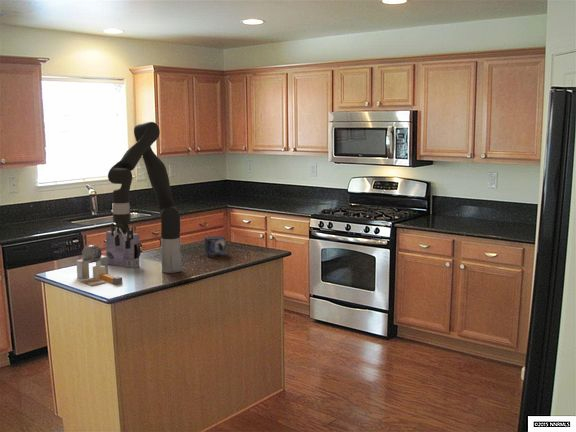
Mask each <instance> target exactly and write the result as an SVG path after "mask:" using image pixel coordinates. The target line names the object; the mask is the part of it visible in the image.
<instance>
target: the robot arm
mask: <svg viewBox="0 0 576 432" xmlns="http://www.w3.org/2000/svg"><path fill="white" fill-rule="evenodd" d="M160 133H161V132H160V127H159V125H158V124H157V123H156V122H154V121H147V122H142V123H138V124H136V125H134V128H133V135H134V138H135V143H134V144H132V146H131V147H129V148H128V149H127V150H126V151H125V153H124V154H123V156H122V157H121V159H120V160H119V161H118V162H116V163H115V164H114V165H113V166H111V168H109V170H108V173H107V179H108V181H109V182H110V183H111V184H114V185H117V184H118V185H121V186H120V188H117V189H114V190H113V191H112V222H113V223H111V225H110V228H111V230H110V231H111V235H112V236H114V238H115V246H120V238H119V237H120V235H122V236H123V237H124V238H125V248H126V249H130V247H131V245H130V241H131V240H133V239H134V238H133V234H134V227H133V226H132V225H131V226H129V223H130V222H131V206H130V191H131V190H130V189H131V185H132V181H133V173H132V171H134V169H135V168H136V166H138V165H137V164H138V163H139V161H140V160H141V158H142V159H143V162H144V165H145V169H146V172H147V176H148V180H149V183H150V185H151V188H152V190H153V192H154V194H155V198H156V200H157V205H158V210H159V216H160V223H161V224H160V226H161V230H160V231H161V232H160V238H161V239H160V242H161V245H160V246H161V269H162V270H161V272H163V273H166V274H168V273H169V274H175V273H180V272H182V271H183V263H182V262H183V261H182V256H183V255H182V252H181V235H180V234H181V213H180V211H179V210H178V208H177V207H176V204H175V202H174V201H175V200H174V199H173V197H172V193H171V185H170V180H169V179H170V177H169V174H168V169H167V167H166V165H165V163H164V162H163V161H162V159H161V158H159V156H157V155H156V153H155V152H154V151H153V149H152V145H153V144H154V143H155V142H156V141H157V140H158V139H159V137H160ZM114 231H115V232H114ZM126 233H127V234H126ZM130 235H131V237H130ZM126 236H127V237H126Z"/></svg>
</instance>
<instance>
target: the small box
mask: <svg viewBox="0 0 576 432" xmlns="http://www.w3.org/2000/svg"><path fill="white" fill-rule="evenodd" d="M204 256H205V257H207V258H213V257H226V237H225V236H223V235H216V236H215V235H214V236H213V235H212V236H204Z"/></svg>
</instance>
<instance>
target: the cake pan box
mask: <svg viewBox="0 0 576 432" xmlns="http://www.w3.org/2000/svg"><path fill="white" fill-rule="evenodd" d="M114 232H115V231H114ZM126 234H127V233H126ZM105 235H106V236H105V237H106V239H105V240H106V241H105V243H106V244H105V245H106V246H105V249H106V250H105V253H106V254H105V256H107V263H108V265H110V266H111V265H112V266H117V267H122V268H123V267H125V268H131V269H135V268H138V267H140V256H141V250H142V249H141V248H142V247H141V244H140V234H139V233H133V238H134V239H133V240H131V241H130V245H131V247H130V249H126V248H125V238H124V237H123V236H122V235H120V237H119V238H120V246H115V238H114V236H112V235H111V230H108V231H106V232H105ZM126 237H127V236H126ZM130 237H131V235H130Z"/></svg>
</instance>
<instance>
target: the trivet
mask: <svg viewBox="0 0 576 432" xmlns="http://www.w3.org/2000/svg"><path fill="white" fill-rule="evenodd" d="M80 282H81V283H83V284H85V285H89V286H92V287H95V286H99V285H103V284H104V285H105V284H107V281H104V280H101V279H97V278H93V277H91V278H86V279H82V280H81V281H80Z"/></svg>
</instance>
